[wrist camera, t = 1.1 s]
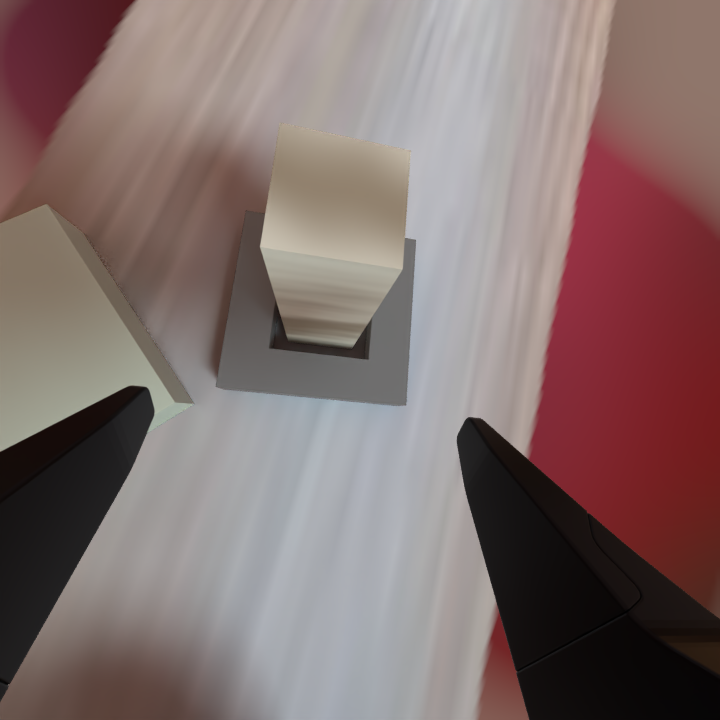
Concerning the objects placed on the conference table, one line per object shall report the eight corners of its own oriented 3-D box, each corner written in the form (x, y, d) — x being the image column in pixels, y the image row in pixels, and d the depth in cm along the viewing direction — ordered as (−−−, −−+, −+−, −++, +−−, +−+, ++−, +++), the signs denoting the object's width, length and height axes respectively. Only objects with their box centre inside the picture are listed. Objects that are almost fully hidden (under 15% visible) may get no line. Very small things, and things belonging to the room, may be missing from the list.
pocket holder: (397, 405, 23) (406, 405, 21) (224, 389, 21) (215, 387, 19) (407, 253, 25) (415, 239, 23) (251, 227, 23) (245, 210, 21)
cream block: (351, 349, 23) (402, 269, 10) (288, 342, 22) (259, 247, 10) (356, 291, 24) (410, 150, 11) (296, 282, 23) (279, 122, 10)
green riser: (194, 404, 21) (175, 402, 18) (-1, 525, 18) (-62, 546, 15) (82, 232, 21) (46, 203, 18) (-121, 324, 19) (-202, 307, 16)
